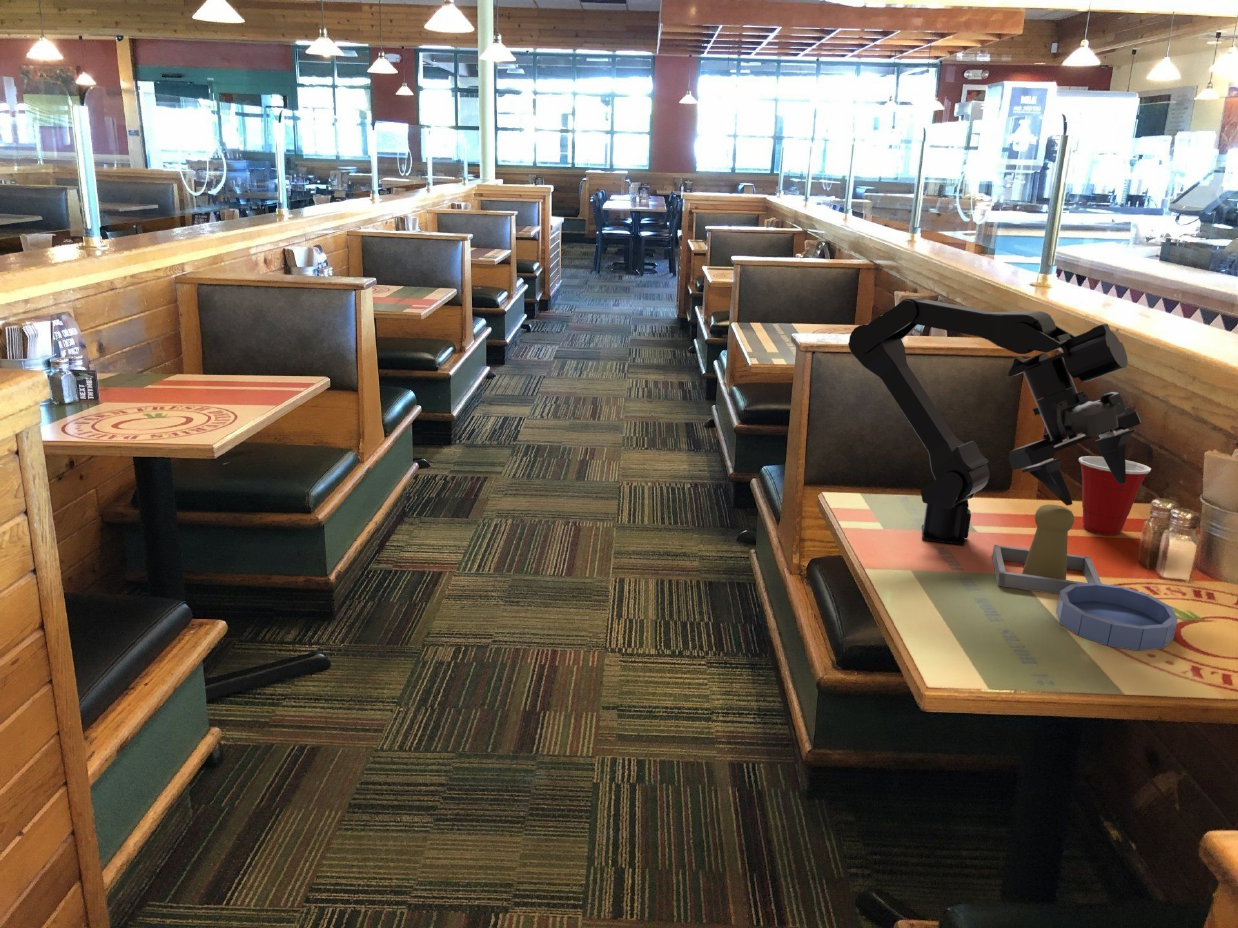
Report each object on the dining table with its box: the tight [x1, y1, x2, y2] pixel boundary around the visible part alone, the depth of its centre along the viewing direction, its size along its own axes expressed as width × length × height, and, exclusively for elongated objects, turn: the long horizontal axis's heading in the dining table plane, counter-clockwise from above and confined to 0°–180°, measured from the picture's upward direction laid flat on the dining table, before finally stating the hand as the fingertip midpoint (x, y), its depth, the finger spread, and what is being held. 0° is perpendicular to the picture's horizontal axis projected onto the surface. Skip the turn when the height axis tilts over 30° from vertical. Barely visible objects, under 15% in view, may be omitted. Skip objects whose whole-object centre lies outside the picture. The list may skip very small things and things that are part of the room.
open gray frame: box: [991, 544, 1103, 595], centre depth 144 cm, size 14×12×2 cm
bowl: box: [1055, 582, 1179, 652], centre depth 129 cm, size 14×14×3 cm
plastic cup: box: [1078, 455, 1152, 536], centre depth 163 cm, size 11×11×12 cm
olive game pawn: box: [1021, 504, 1075, 580], centre depth 143 cm, size 6×6×11 cm
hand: (1096, 494), depth 141 cm, fingers open, 9 cm apart
